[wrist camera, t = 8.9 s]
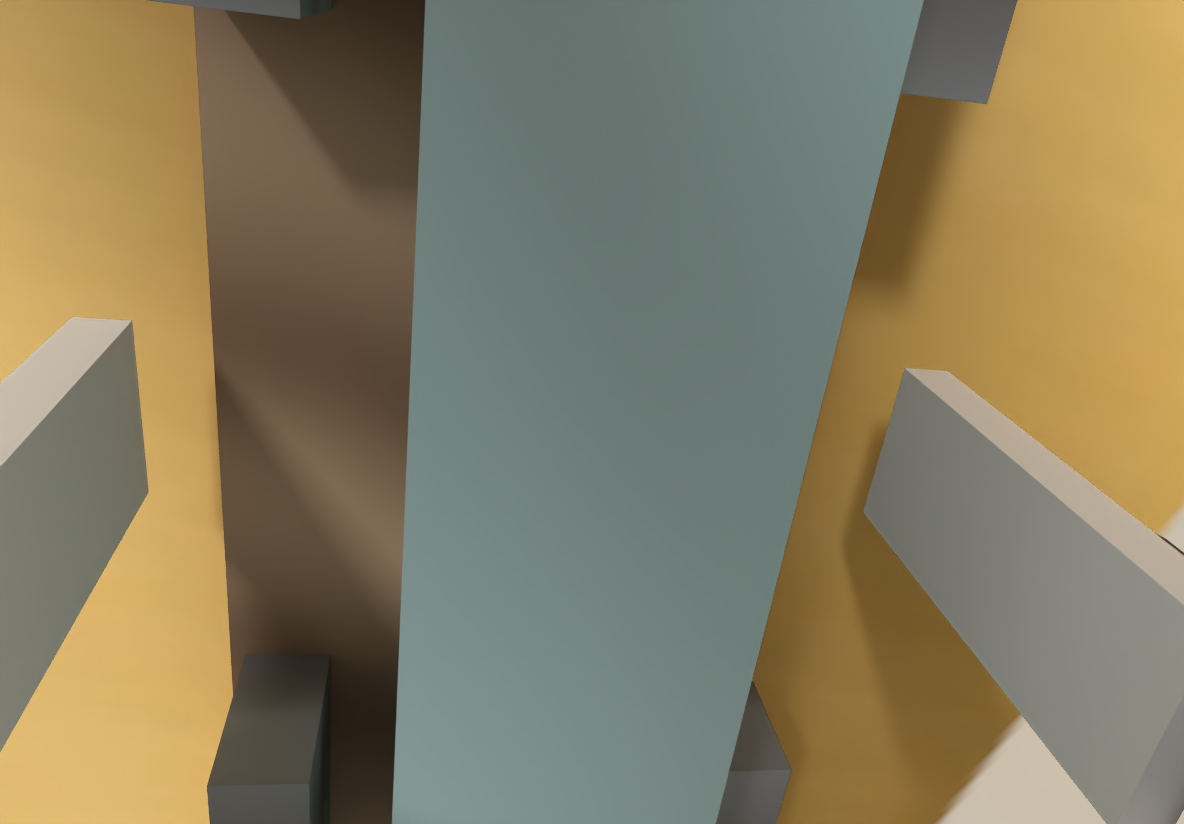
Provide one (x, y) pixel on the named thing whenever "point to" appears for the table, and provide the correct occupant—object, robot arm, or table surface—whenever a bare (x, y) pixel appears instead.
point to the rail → (618, 382)
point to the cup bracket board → (359, 384)
